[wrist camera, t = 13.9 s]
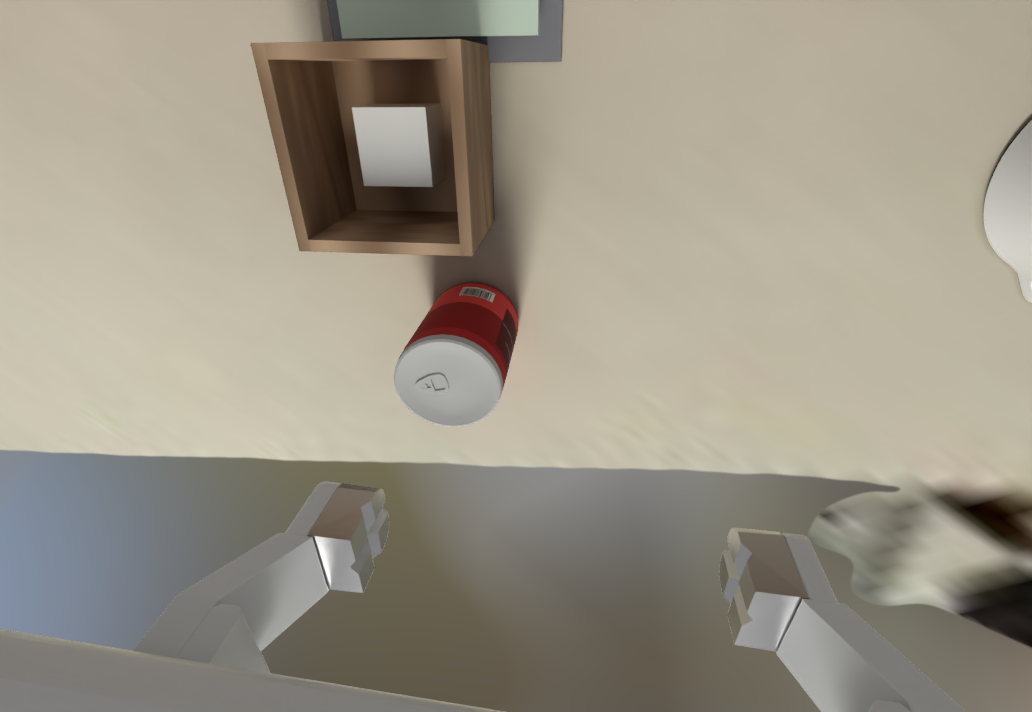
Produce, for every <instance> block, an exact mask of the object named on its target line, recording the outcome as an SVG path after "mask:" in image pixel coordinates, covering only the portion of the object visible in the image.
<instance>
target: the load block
mask: <svg viewBox="0 0 1032 712" xmlns="http://www.w3.org/2000/svg"><path fill="white" fill-rule="evenodd" d="M352 112H353V119H354V125H355V131H356V138H357V144H358V150H359V157H360V163H361V169H362V176H363V182H364V186H402V187H433V186H434V185H436V184H437V183H438V182H440V181H441V180H442V179H444V178H445V177H446V163H445V151H444V138H443V125H442V112H441V103H419V104H369V105H363V106H357V107H352Z"/></svg>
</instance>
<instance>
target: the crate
mask: <svg viewBox="0 0 1032 712" xmlns="http://www.w3.org/2000/svg"><path fill="white" fill-rule="evenodd" d="M251 47H252V51H253V56H254V60H255V64H256V68H257V73H258V77H259V81H260V85H261V90H262V94H263V98H264V102H265V107H266V111H267V115H268V119H269V123H270V128H271V132H272V136H273V140H274V145H275V149H276V153H277V157H278V162H279V166H280V170H281V174H282V179H283V183H284V187H285V191H286V195H287V200H288V204H289V208H290V212H291V217H292V221H293V225H294V229H295V234H296V238H297V242H298V246H299V251H314V252H347V253H380V254H413V255H446V256H473V255H474V253H475V252H476V250H477V248H478V247H479V245H480V243H481V242H482V240H483V238H484V237H485V235H486V233H487V232H488V230H489V228H490V227H491V225H492V224H493V222H494V220H495V218H494V187H493V156H492V125H491V94H490V64H489V55H488V45H484V44H480V43H476V42H471V41H467V40H463V39H434V40H383V41H332V42H280V43H251ZM419 103H441V112H442V125H443V138H444V151H445V163H446V177H445V178H444V179H442V180H441V181H440V182H438V183H437V184H436V185H434V186H433V187H402V186H364V182H363V176H362V169H361V163H360V157H359V150H358V144H357V138H356V131H355V125H354V119H353V112H352V107H357V106H363V105H369V104H419Z"/></svg>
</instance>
